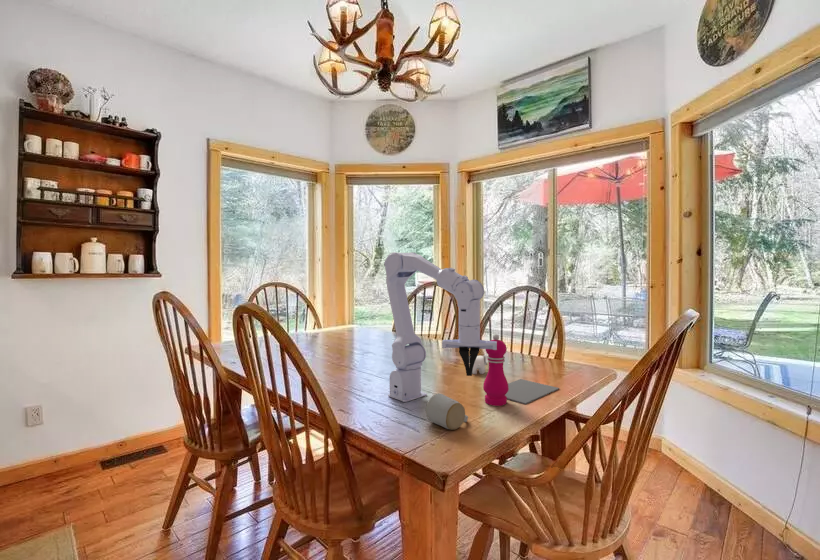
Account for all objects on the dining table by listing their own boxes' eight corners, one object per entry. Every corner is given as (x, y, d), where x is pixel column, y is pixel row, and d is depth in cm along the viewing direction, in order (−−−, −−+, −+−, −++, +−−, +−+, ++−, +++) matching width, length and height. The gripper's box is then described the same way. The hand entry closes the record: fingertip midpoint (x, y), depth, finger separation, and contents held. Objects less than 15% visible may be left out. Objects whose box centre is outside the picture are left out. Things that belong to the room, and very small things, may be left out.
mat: (525, 404, 117) (525, 403, 117) (485, 393, 127) (485, 391, 127) (559, 389, 131) (559, 387, 131) (520, 380, 141) (520, 378, 141)
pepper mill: (513, 401, 119) (513, 334, 118) (500, 408, 114) (500, 337, 113) (491, 396, 124) (491, 331, 123) (478, 402, 119) (478, 334, 118)
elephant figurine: (484, 368, 157) (484, 350, 156) (490, 375, 147) (490, 355, 147) (464, 368, 156) (464, 350, 156) (469, 375, 147) (468, 356, 147)
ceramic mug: (447, 434, 97) (447, 404, 97) (425, 425, 103) (425, 396, 103) (475, 424, 104) (475, 395, 104) (452, 415, 110) (453, 388, 110)
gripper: (496, 323, 113) (496, 372, 113) (444, 322, 116) (444, 369, 116) (496, 327, 106) (496, 379, 106) (441, 326, 109) (441, 376, 109)
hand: (469, 374), depth 111 cm, fingers closed
